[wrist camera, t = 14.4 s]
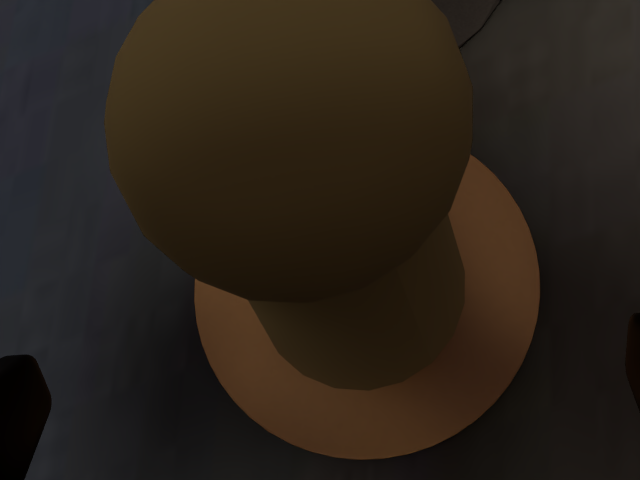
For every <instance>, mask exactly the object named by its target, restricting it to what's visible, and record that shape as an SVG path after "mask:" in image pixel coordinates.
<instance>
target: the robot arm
mask: <svg viewBox="0 0 640 480" xmlns="http://www.w3.org/2000/svg"><path fill="white" fill-rule="evenodd" d="M625 366H626V374H627V378H628V381H629V384H630V386H631V389H632V392H633V395H634V397H635V400H636V403H637V406H638V409H639V411H640V313H634V314H633V315H632V316H631V318H630V320H629V325H628V336H627V348H626V359H625ZM50 410H51V394H50V391H49V389H48V387H47V384H46V382H45V380H44V377H43V375H42V372H41V370H40V368H39V365H38V363H37V361H36V359H35V358H34V357H32V356H30V355H11V356H5V357H2V358H0V480H24V479H25V476H26V474H27V471H28V469H29V466H30V463H31V461H32V458H33V455H34V453H35V450H36V447H37V445H38V442H39V439H40V437H41V434H42V431H43V429H44V426H45V424H46V421H47V418H48V416H49V413H50Z"/></svg>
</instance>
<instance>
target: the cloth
mask: <svg viewBox="0 0 640 480" xmlns="http://www.w3.org/2000/svg"><path fill="white" fill-rule="evenodd" d="M431 1H432V2H433V3H434V4H435V5H436V6H437V7H438V8H439V10H440V11H441V12H442V13H443V14H444V15H445V16H446V17H447V19H448V22H449V24H450V27H451V29H452V32H453V35H454V37H455V40H456V42H457V45H458V48H460V47H461V46H462V45H463V44H464V43H465V42H466V41H467V40H469V39H470V38H471V37H472V36H473V35H474V34H475V33H476V32H477V31H478V30H480V29H481V27H482V26H483V25H484V23H485V22H486V20H487V19H488V17H489V16H490V15H491V13H492V12H493V10H494V9H495V7H496V6H497V5H498V3H499V2H500V0H431Z"/></svg>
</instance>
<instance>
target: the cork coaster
mask: <svg viewBox="0 0 640 480" xmlns="http://www.w3.org/2000/svg"><path fill="white" fill-rule="evenodd" d="M448 215H449V219H450V222H451V226H452V229H453V232H454V236H455V239H456V243H457V246H458V249H459V253H460V256H461V259H462V263H463V266H464V270H465V304H464V307H463V310H462V313H461V316H460V318H459V321H458V324H457V327H456V330H455V333H454V335H453V337H452V338H451V339H450V341H449V342H448V343H447V344H446V346H445V347H444V348H443V350H442V351H441V352H440V353H439V355H438V356H437V357H436V358H435V360H434V361H433V362H432V363H431V364H429V365H428V366H426V367H425V368H423V369H422V370H420V371H419V372H417V373H416V374H414V375H413V376H411V377H409V378H408V379H406V380H405V381H403V382H400V383H397V384H393V385H389V386H385V387H381V388H377V389H373V390H370V391H366V390H352V389H337V388H333V387H330V386H328V385H325V384H323V383H321V382H318V381H316V380H313V379H311V378H308V377H306V376H304V375H302V374H301V373H300V372H299V371H298V370H297V369H296V368H294V367H293V366H292V365H291V364H290V363H289V362H288V361H286V360H285V359H284V358H283V357H282V356H281V355H280V354H279V353H278V352H277V350H276V348H275V346H274V345H273V343H272V341H271V340H270V338H269V336H268V334H267V333H266V331H265V329H264V327H263V326H262V324H261V322H260V320H259V319H258V317H257V315H256V314H255V312H254V310H253V308H252V307H251V305H250V303H249V301H248V300H246V299H244V298H241V297H239V296H236V295H234V294H231V293H228V292H226V291H223V290H221V289H218V288H216V287H213V286H211V285H208V284H205V283H203V282H200V281H198V280H197V279H195V296H194V303H195V312H196V322H197V326H198V330H199V335H200V339H201V343H202V346H203V348H204V351H205V353H206V356H207V359H208V361H209V364H210V366H211V367H212V369H213V371H214V373H215V375H216V376H217V378H218V380H219V382H220V383H221V385H222V386H223V387H224V389H225V390H226V392H227V393H228V394H229V396H230V397H231V398H232V400H233V401H234V402H235V403H236V404H237V405H238V406H239V407H240V408H241V409H242V410H243V411H244V412H245V413H246V414H247V415H248V416H249V417H250V418H251V419H253V420H254V421H255V422H256V423H258V424H259V425H260V426H262V427H263V428H264V429H266V430H267V431H268V432H270V433H272V434H274V435H275V436H277V437H279V438H281V439H282V440H284V441H286V442H288V443H290V444H292V445H295V446H297V447H300V448H303V449H305V450H308V451H310V452H314V453H318V454H322V455H326V456H330V457H335V458H345V459H355V460H367V459H385V458H391V457H396V456H402V455H407V454H411V453H414V452H417V451H420V450H423V449H426V448H429V447H432V446H434V445H436V444H438V443H440V442H442V441H444V440H446V439H448V438H450V437H452V436H454V435H456V434H457V433H459V432H460V431H461V430H463V429H464V428H466V427H467V426H469V425H470V424H472V423H473V422H474V421H476V420H477V419H478V418H479V417H480V416H481V415H482V414H483V413H484V412H486V411H487V410H488V409H489V408H490V407H491V406H492V405H493V404H494V403H495V402H496V401H497V399H498V398H499V397H500V396H501V395H502V393H503V392H504V391H505V390H506V388H507V387H508V386H509V385H510V383H511V381H512V380H513V378H514V376H515V375H516V373H517V371H518V370H519V368H520V366H521V365H522V363H523V360H524V358H525V356H526V353H527V351H528V349H529V346H530V344H531V341H532V338H533V334H534V330H535V326H536V323H537V319H538V310H539V302H540V271H539V265H538V259H537V253H536V249H535V245H534V242H533V239H532V236H531V233H530V229H529V227H528V225H527V223H526V221H525V219H524V216H523V214H522V212H521V210H520V208H519V207H518V205H517V204H516V202H515V200H514V199H513V197H512V196H511V194H510V193H509V191H508V190H507V189H506V187H505V186H504V185H503V184H502V183H501V182H500V181H499V179H498V178H497V177H496V176H495V175H494V174H493V173H492V172H491V171H490V170H489V169H488V168H487V167H486V166H484V165H483V164H482V163H481V162H480V161H479V160H478V159H476V158H475V157H474V156H472V155H471V154H470V157H469V161H468V164H467V167H466V170H465V172H464V175H463V178H462V180H461V183H460V186H459V188H458V191H457V194H456V196H455V199H454V202H453V204H452V207H451V210H450V212H449V213H448Z"/></svg>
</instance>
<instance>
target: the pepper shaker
mask: <svg viewBox="0 0 640 480" xmlns="http://www.w3.org/2000/svg"><path fill="white" fill-rule="evenodd" d="M104 125H105V133H106V142H107V150H108V158H109V166H110V172H111V174H112V176H113V178H114V180H115V182H116V184H117V186H118V187H119V189H120V191H121V193H122V195H123V197H124V199H125V201H126V203H127V205H128V207H129V208H130V210H131V212H132V214H133V216H134V218H135V220H136V222H137V224H138V226H139V227H140V229H141V231H142V233H143V235H144V236H145V237H146V238H147V239H148V240H149V241H150V242H152V243H153V244H154V245H155V246H156V247H157V248H158V249H160V250H161V251H162V252H163V253H164V254H165V255H166V256H168V257H169V258H170V259H171V260H172V261H173V262H174V263H175V264H177V265H178V266H179V267H180V268H181V269H182V270H183V271H185V272H186V273H188V274H189V275H191V276H192V277H194V278H195V279H197V280H198V281H200V282H203V283H205V284H208V285H211V286H213V287H216V288H218V289H221V290H223V291H226V292H228V293H231V294H234V295H236V296H239V297H241V298H244V299H246V300H248V301H249V303H250V305H251V307H252V308H253V310H254V312H255V314H256V315H257V317H258V319H259V320H260V322H261V324H262V326H263V327H264V329H265V331H266V333H267V334H268V336H269V338H270V340H271V341H272V343H273V345H274V346H275V348H276V350H277V352H278V353H279V354H280V355H281V356H282V357H283V358H284V359H285V360H286V361H288V362H289V363H290V364H291V365H292V366H293V367H294V368H296V369H297V370H298V371H299V372H300V373H301V374H302V375H304V376H306V377H308V378H311V379H313V380H316V381H318V382H321V383H323V384H325V385H328V386H330V387H333V388H337V389H352V390H366V391H370V390H373V389H377V388H381V387H385V386H389V385H393V384H397V383H400V382H403V381H405V380H406V379H408V378H409V377H411V376H413V375H414V374H416V373H417V372H419V371H420V370H422V369H423V368H425V367H426V366H428V365H429V364H431V363H432V362H433V361H434V360H435V358H436V357H437V356H438V355H439V353H440V352H441V351H442V350H443V348H444V347H445V346H446V344H447V343H448V342H449V341H450V339H451V338H452V337H453V335H454V333H455V330H456V327H457V324H458V321H459V318H460V316H461V313H462V310H463V307H464V304H465V270H464V266H463V263H462V259H461V256H460V253H459V249H458V246H457V243H456V239H455V236H454V232H453V229H452V226H451V222H450V219H449V215H448V213H449V212H450V210H451V207H452V204H453V202H454V199H455V196H456V194H457V191H458V188H459V186H460V183H461V180H462V178H463V175H464V172H465V170H466V167H467V164H468V161H469V157H470V152H471V146H472V141H473V86H472V83H471V81H470V78H469V75H468V72H467V69H466V66H465V63H464V61H463V58H462V56H461V53H460V50H459V48H458V45H457V42H456V40H455V37H454V35H453V32H452V29H451V27H450V24H449V22H448V19H447V17H446V16H445V15H444V14H443V13H442V12H441V11H440V10H439V8H438V7H437V6H436V5H435V4H434V3H433V2H432V1H431V0H154V1H153V2H152V3H151V4H150V5H149V6H148V7H147V8H146V9H145V10H144V11H143V12H142V13H141V14H140V15H139V17H138V18H137V20H136V22H135V24H134V26H133V27H132V29H131V31H130V33H129V34H128V36H127V38H126V40H125V42H124V43H123V45H122V47H121V49H120V51H119V52H118V54H117V56H116V59H115V64H114V68H113V73H112V78H111V82H110V87H109V92H108V96H107V101H106V110H105V120H104Z"/></svg>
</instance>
